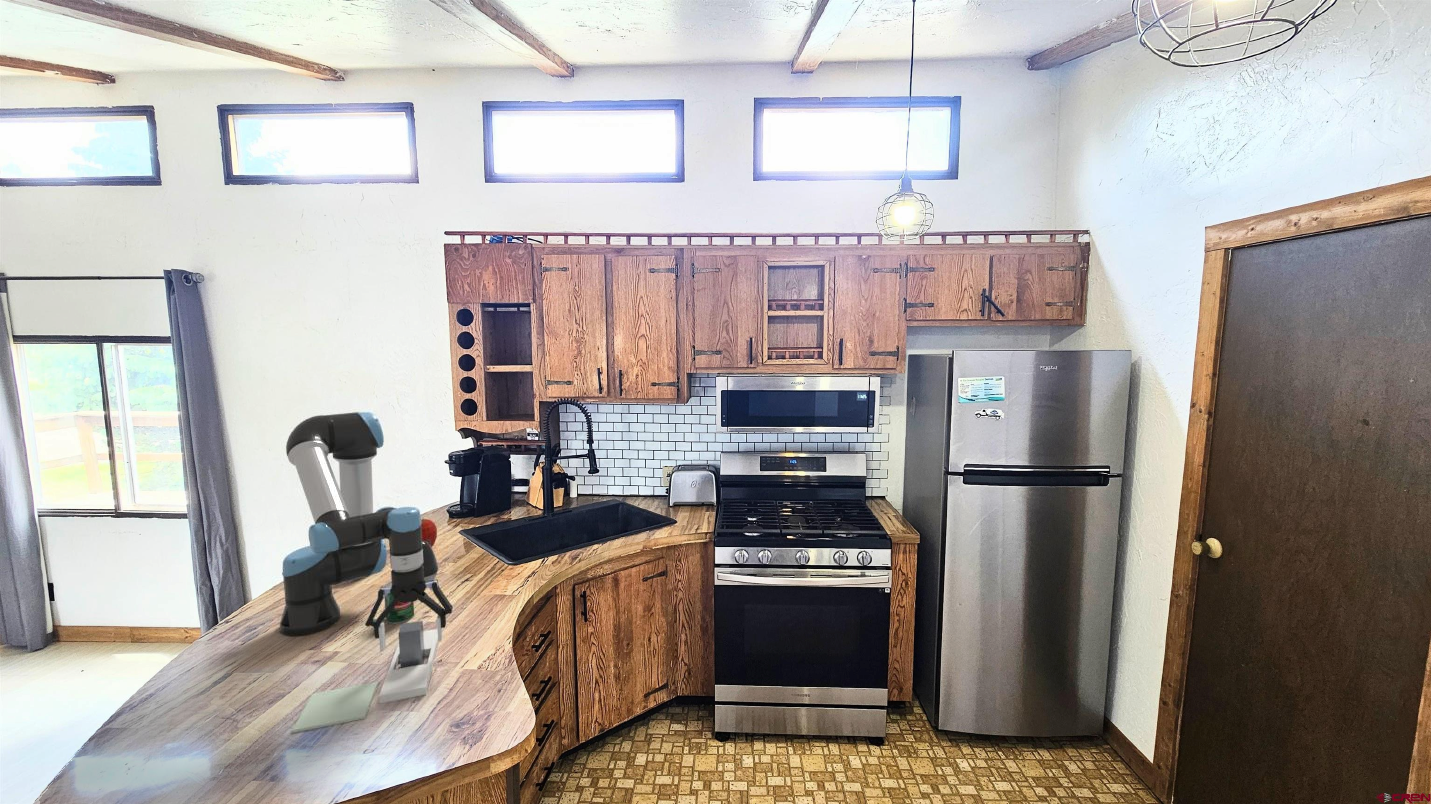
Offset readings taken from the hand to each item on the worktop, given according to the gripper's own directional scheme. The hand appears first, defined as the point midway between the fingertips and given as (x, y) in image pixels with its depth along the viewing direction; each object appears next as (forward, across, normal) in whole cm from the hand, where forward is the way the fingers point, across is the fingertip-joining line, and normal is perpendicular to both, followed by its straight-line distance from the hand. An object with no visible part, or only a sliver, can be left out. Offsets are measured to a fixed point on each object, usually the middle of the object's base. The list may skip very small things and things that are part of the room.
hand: (412, 644), depth 149 cm
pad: (+6, -14, -13) cm, 20 cm away
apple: (+6, -9, +93) cm, 94 cm away
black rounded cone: (+6, -5, +58) cm, 59 cm away
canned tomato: (+6, -8, +31) cm, 33 cm away
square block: (+6, 0, 0) cm, 6 cm away
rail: (+6, 0, 0) cm, 6 cm away
